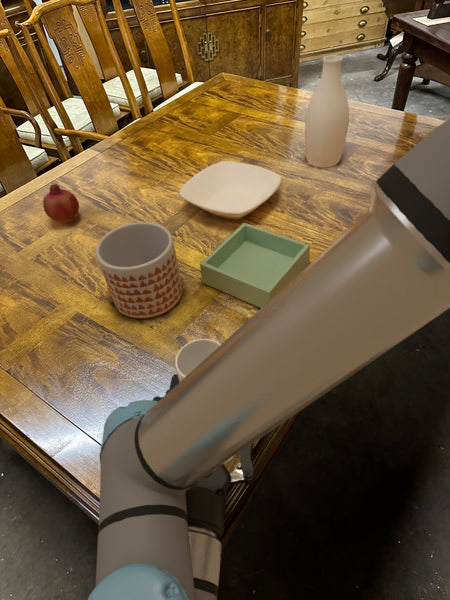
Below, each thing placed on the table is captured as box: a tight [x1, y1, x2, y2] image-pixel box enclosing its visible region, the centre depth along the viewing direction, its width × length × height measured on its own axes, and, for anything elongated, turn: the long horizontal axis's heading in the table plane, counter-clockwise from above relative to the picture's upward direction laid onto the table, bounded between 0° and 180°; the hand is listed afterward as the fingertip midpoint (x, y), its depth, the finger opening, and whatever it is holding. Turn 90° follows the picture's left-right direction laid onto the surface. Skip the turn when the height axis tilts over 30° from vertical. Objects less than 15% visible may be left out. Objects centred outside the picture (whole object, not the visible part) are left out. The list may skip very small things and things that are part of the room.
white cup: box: [174, 338, 222, 382], centre depth 57 cm, size 7×7×15 cm
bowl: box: [178, 160, 283, 220], centre depth 102 cm, size 22×22×5 cm
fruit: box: [42, 183, 80, 224], centre depth 100 cm, size 8×8×10 cm
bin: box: [199, 222, 311, 309], centre depth 83 cm, size 16×16×5 cm
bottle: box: [304, 54, 350, 169], centre depth 106 cm, size 11×11×25 cm
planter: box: [95, 221, 184, 320], centre depth 78 cm, size 14×14×13 cm
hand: (211, 358), depth 60 cm, fingers closed on white cup, 6 cm apart
